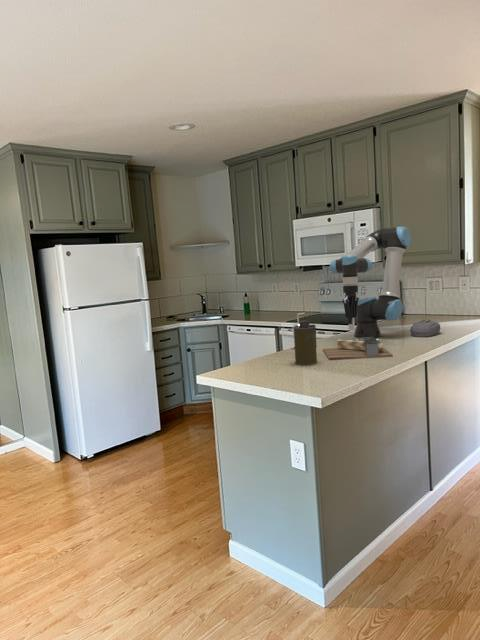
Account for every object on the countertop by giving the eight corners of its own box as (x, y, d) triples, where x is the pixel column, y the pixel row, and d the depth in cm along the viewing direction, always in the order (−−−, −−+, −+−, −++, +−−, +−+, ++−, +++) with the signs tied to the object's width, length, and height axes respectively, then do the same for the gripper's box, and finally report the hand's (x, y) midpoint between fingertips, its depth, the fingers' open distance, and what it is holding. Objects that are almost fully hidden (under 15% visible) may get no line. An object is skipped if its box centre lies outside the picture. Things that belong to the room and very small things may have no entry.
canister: (303, 366, 220) (301, 323, 217) (290, 362, 229) (288, 321, 227) (322, 362, 225) (320, 320, 222) (309, 359, 234) (307, 318, 232)
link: (385, 350, 236) (384, 342, 236) (380, 352, 232) (380, 344, 232) (341, 346, 253) (340, 339, 252) (336, 348, 249) (335, 340, 248)
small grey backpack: (418, 331, 292) (405, 337, 278) (418, 318, 291) (404, 322, 277) (444, 332, 282) (431, 338, 267) (444, 318, 281) (431, 323, 266)
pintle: (374, 341, 237) (374, 338, 237) (379, 341, 237) (379, 338, 236) (375, 342, 234) (375, 339, 234) (381, 342, 234) (381, 339, 234)
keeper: (361, 351, 240) (361, 337, 239) (372, 350, 240) (372, 336, 239) (366, 355, 229) (366, 341, 228) (378, 355, 229) (378, 340, 228)
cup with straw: (303, 345, 270) (301, 310, 268) (310, 348, 262) (308, 311, 259) (289, 347, 268) (287, 312, 265) (296, 350, 259) (294, 313, 257)
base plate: (322, 350, 253) (322, 348, 253) (380, 347, 252) (380, 345, 252) (329, 360, 229) (329, 358, 229) (392, 356, 228) (392, 354, 228)
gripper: (350, 284, 257) (351, 328, 259) (337, 286, 247) (338, 331, 250) (363, 284, 252) (364, 328, 254) (350, 285, 242) (351, 332, 245)
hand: (351, 330), depth 252 cm, fingers closed
